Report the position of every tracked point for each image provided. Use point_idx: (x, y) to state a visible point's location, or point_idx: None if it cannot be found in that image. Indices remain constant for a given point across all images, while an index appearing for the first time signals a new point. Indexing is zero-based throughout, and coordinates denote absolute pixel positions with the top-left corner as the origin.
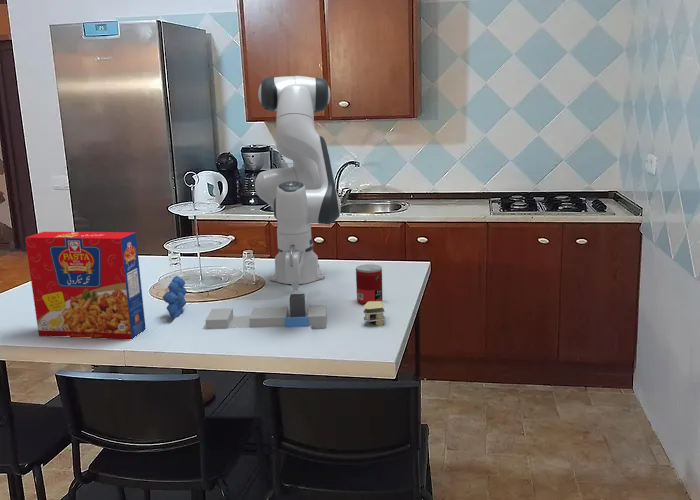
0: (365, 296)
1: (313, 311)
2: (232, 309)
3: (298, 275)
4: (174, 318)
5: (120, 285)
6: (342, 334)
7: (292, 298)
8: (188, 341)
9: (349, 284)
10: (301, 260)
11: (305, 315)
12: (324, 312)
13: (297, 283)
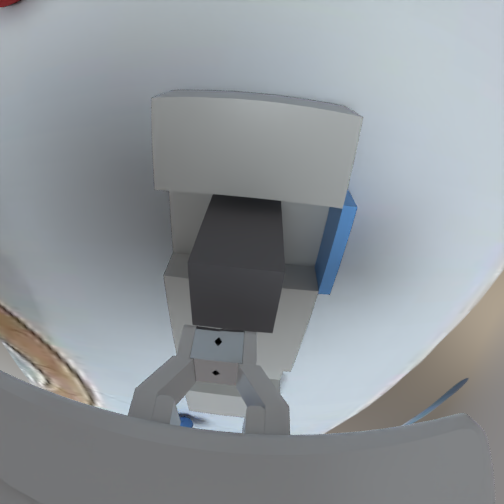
0: None
1: (261, 171)
2: (191, 389)
3: (489, 453)
4: (190, 419)
5: None
6: (436, 63)
7: (274, 320)
8: (316, 406)
9: None
10: (100, 500)
11: (219, 195)
12: (295, 113)
13: (267, 379)
